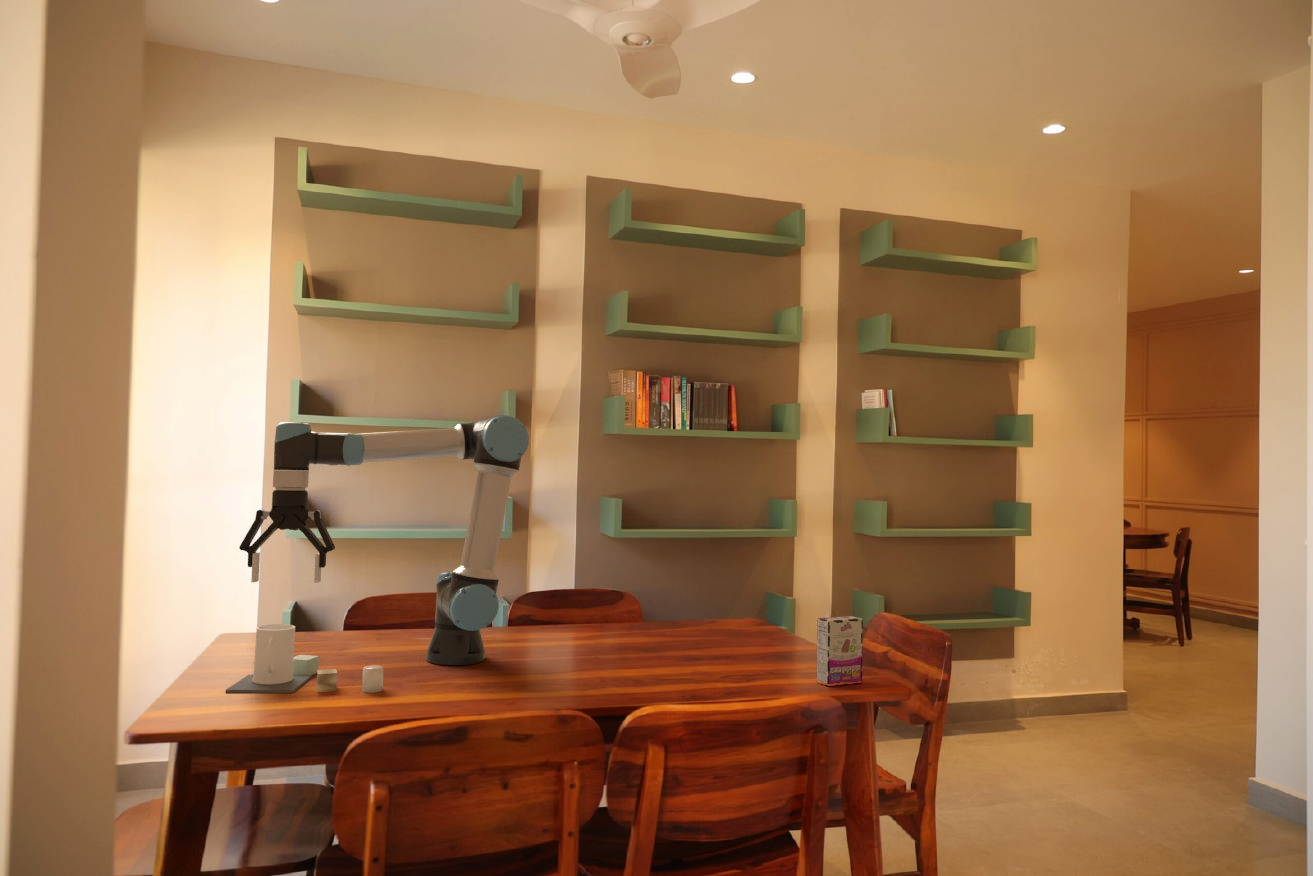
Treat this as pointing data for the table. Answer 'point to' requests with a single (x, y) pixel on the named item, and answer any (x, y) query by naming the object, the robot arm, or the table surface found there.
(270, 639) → the mug
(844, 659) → the candy bar box
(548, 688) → the table surface
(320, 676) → the maple block
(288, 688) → the coaster
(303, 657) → the sage block
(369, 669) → the beige rounded block
